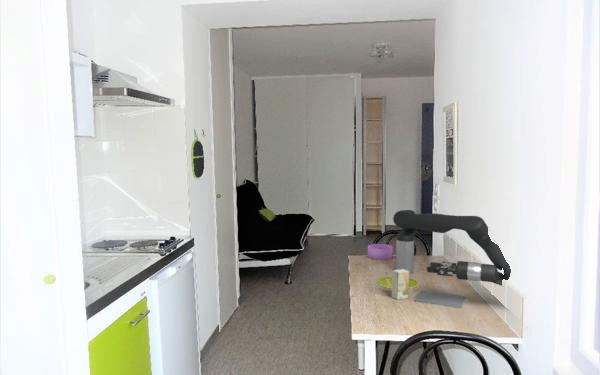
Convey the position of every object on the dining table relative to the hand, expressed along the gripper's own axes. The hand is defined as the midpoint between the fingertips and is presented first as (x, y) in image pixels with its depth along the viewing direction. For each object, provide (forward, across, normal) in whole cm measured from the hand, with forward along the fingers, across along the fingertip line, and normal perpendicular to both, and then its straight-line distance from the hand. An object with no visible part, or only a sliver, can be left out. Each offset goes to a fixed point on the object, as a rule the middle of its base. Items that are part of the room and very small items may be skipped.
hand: (428, 266), depth 192 cm
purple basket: (+36, -73, +15) cm, 83 cm away
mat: (-4, -6, +15) cm, 17 cm away
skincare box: (+12, 0, +15) cm, 20 cm away
